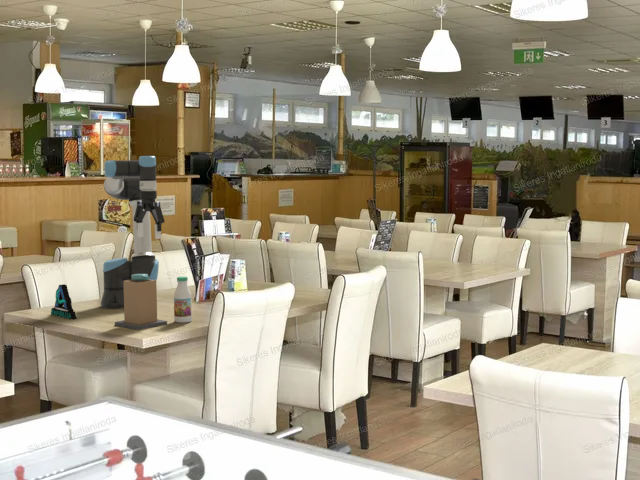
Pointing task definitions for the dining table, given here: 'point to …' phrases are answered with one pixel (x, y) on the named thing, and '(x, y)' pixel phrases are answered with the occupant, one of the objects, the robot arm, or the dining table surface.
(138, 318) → the brown pedestal box
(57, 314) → the decorative sign
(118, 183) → the robot arm
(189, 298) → the milk bottle
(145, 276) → the pump plunger
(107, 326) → the dining table surface
